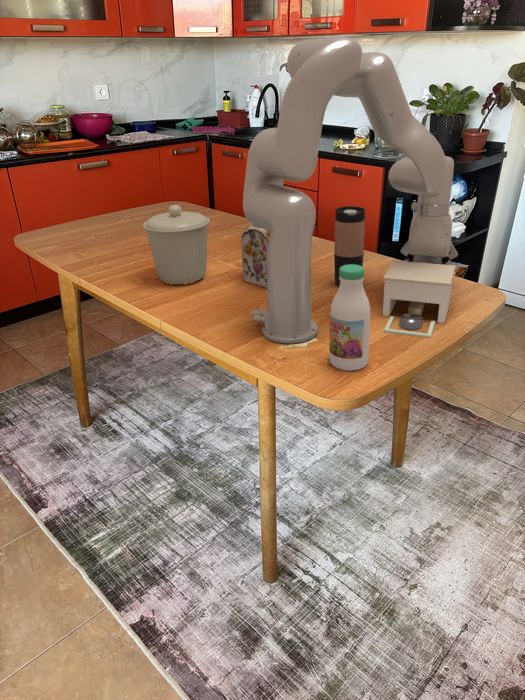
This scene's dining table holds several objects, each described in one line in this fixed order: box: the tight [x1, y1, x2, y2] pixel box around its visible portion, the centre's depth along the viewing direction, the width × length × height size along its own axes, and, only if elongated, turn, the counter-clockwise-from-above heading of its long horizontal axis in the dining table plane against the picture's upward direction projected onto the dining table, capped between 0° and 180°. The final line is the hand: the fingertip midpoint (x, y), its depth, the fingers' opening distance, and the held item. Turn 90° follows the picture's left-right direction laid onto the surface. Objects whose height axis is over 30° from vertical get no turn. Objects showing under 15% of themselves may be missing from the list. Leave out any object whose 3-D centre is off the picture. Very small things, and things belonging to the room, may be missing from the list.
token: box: [398, 313, 424, 331], centre depth 126 cm, size 5×5×2 cm
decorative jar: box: [240, 222, 271, 289], centre depth 152 cm, size 12×12×18 cm
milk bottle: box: [328, 264, 371, 372], centre depth 108 cm, size 8×8×20 cm
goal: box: [383, 315, 436, 339], centre depth 126 cm, size 10×8×1 cm
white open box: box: [382, 260, 456, 324], centre depth 132 cm, size 15×13×10 cm
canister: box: [142, 204, 211, 285], centre depth 155 cm, size 18×18×21 cm
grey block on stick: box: [407, 255, 437, 316], centre depth 138 cm, size 4×22×10 cm, turn 158°
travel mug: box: [333, 205, 366, 288], centre depth 147 cm, size 8×8×20 cm
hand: (426, 278), depth 146 cm, fingers open, 4 cm apart
